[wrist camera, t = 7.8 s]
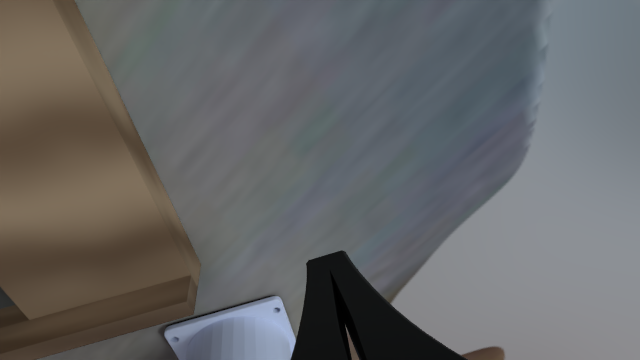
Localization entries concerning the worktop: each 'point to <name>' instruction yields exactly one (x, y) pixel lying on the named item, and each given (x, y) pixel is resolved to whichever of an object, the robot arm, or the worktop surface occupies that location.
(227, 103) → the worktop surface
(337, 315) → the robot arm
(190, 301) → the box
